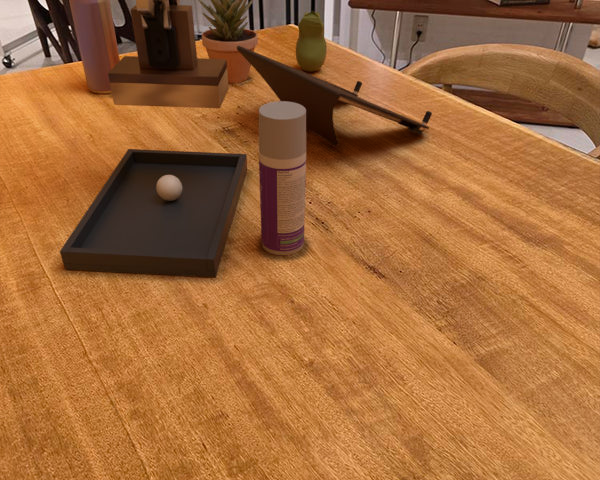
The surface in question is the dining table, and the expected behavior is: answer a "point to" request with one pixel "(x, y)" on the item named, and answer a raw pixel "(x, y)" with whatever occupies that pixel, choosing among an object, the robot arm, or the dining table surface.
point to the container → (282, 176)
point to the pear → (311, 42)
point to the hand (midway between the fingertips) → (167, 60)
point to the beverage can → (95, 41)
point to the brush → (170, 71)
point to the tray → (160, 216)
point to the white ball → (169, 187)
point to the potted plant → (229, 37)
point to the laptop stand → (319, 96)
